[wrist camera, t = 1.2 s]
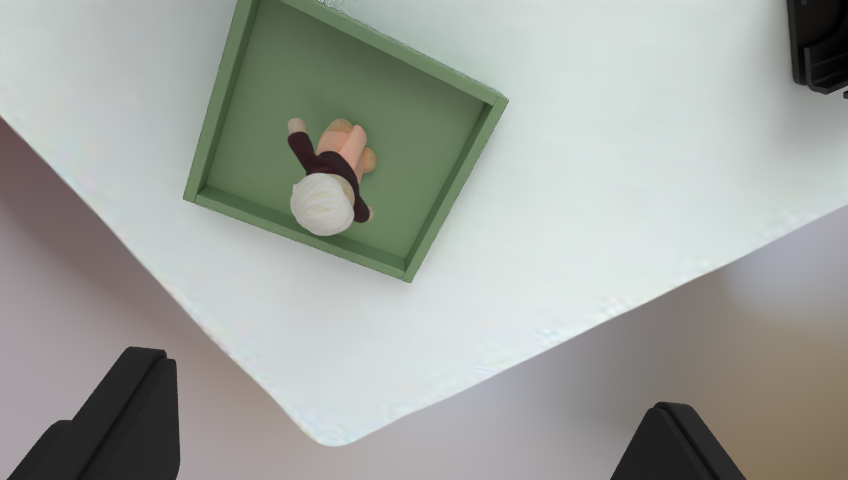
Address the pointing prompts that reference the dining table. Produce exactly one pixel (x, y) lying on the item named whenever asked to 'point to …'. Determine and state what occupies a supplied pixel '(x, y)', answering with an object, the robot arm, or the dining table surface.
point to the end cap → (820, 44)
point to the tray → (318, 107)
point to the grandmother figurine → (330, 177)
